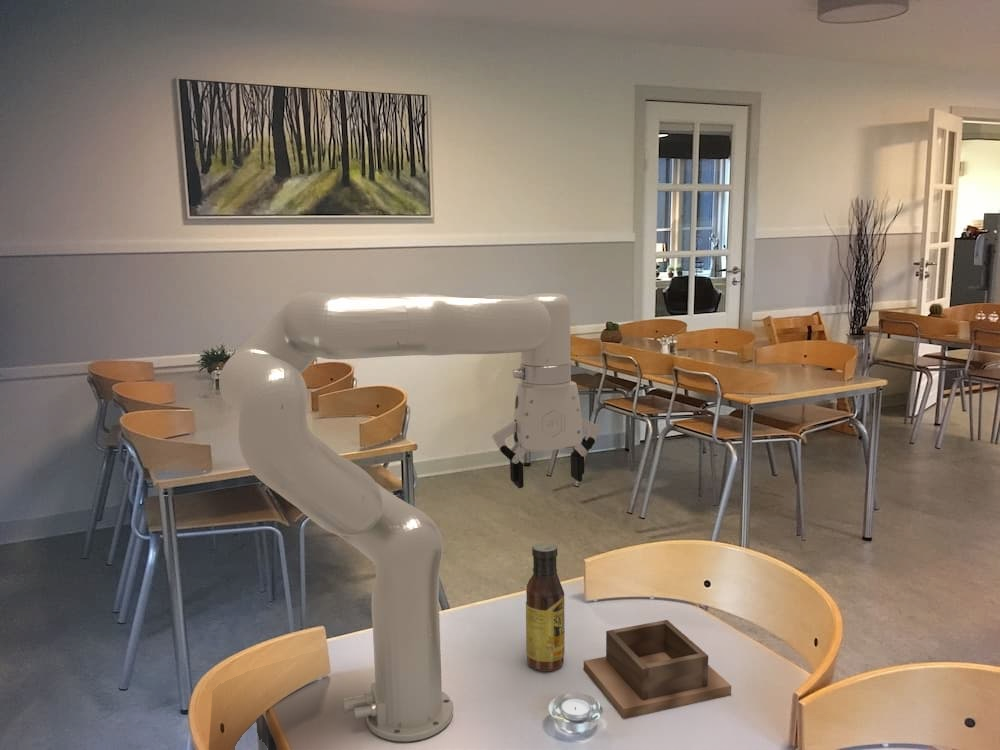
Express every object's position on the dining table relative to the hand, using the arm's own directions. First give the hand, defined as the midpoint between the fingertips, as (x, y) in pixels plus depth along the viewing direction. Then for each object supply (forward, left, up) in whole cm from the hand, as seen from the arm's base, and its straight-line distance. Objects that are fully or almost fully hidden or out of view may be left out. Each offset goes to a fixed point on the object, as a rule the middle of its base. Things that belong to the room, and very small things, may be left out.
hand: (547, 482), depth 122 cm
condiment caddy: (+14, -10, -31) cm, 35 cm away
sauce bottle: (0, +1, -31) cm, 31 cm away
